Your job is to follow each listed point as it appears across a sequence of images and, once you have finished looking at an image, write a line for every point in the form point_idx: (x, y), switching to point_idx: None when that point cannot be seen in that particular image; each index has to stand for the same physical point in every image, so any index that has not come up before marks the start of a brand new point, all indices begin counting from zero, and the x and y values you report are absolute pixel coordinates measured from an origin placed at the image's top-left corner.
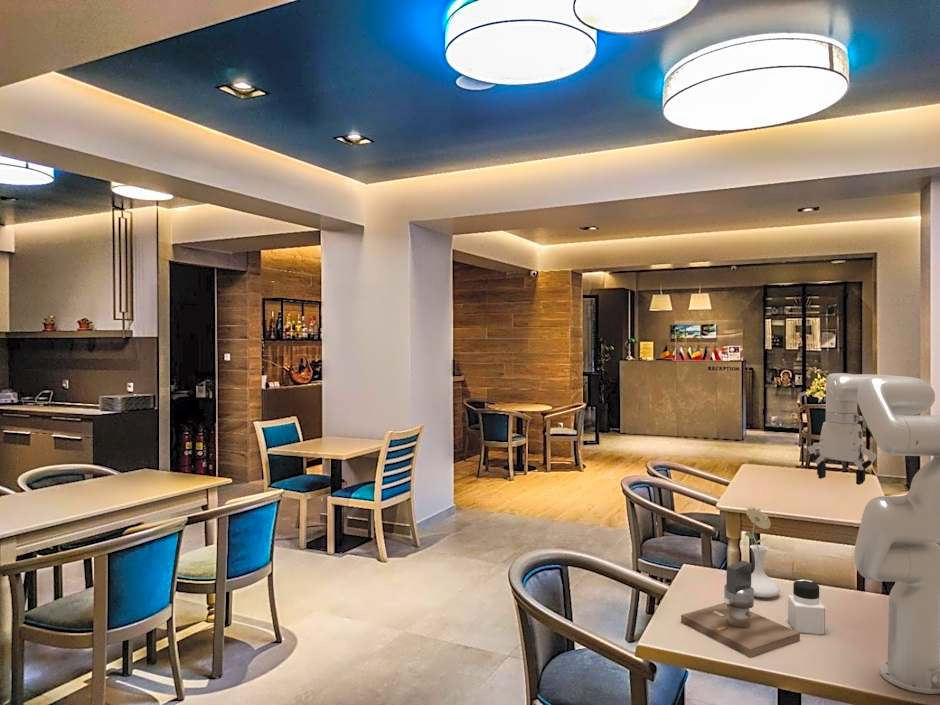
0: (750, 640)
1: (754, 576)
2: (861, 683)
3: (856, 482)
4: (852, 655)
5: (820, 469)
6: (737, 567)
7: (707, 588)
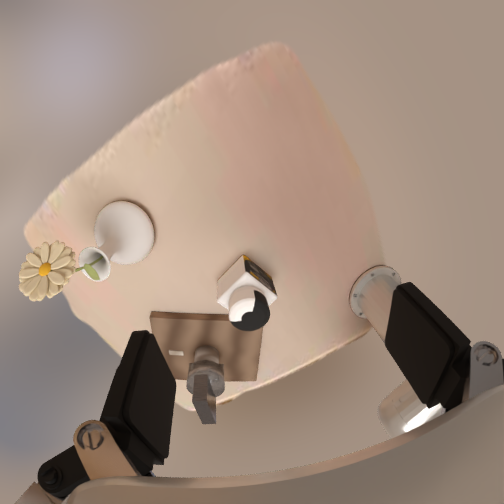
0: (243, 370)
1: (117, 254)
2: (344, 334)
3: (389, 349)
4: (318, 296)
5: (167, 434)
6: (211, 418)
7: (87, 278)
